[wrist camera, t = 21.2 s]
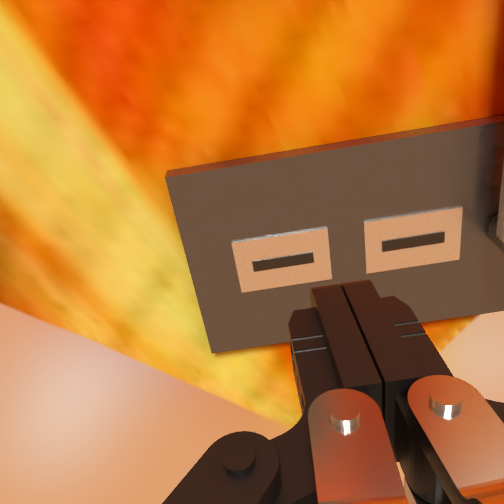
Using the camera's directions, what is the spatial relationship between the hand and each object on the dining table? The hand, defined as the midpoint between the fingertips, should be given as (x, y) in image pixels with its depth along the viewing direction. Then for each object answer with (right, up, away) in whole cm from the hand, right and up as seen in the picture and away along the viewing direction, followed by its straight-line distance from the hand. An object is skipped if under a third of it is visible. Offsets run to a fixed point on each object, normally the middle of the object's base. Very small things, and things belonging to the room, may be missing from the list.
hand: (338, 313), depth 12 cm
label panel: (+6, +2, +30) cm, 31 cm away
